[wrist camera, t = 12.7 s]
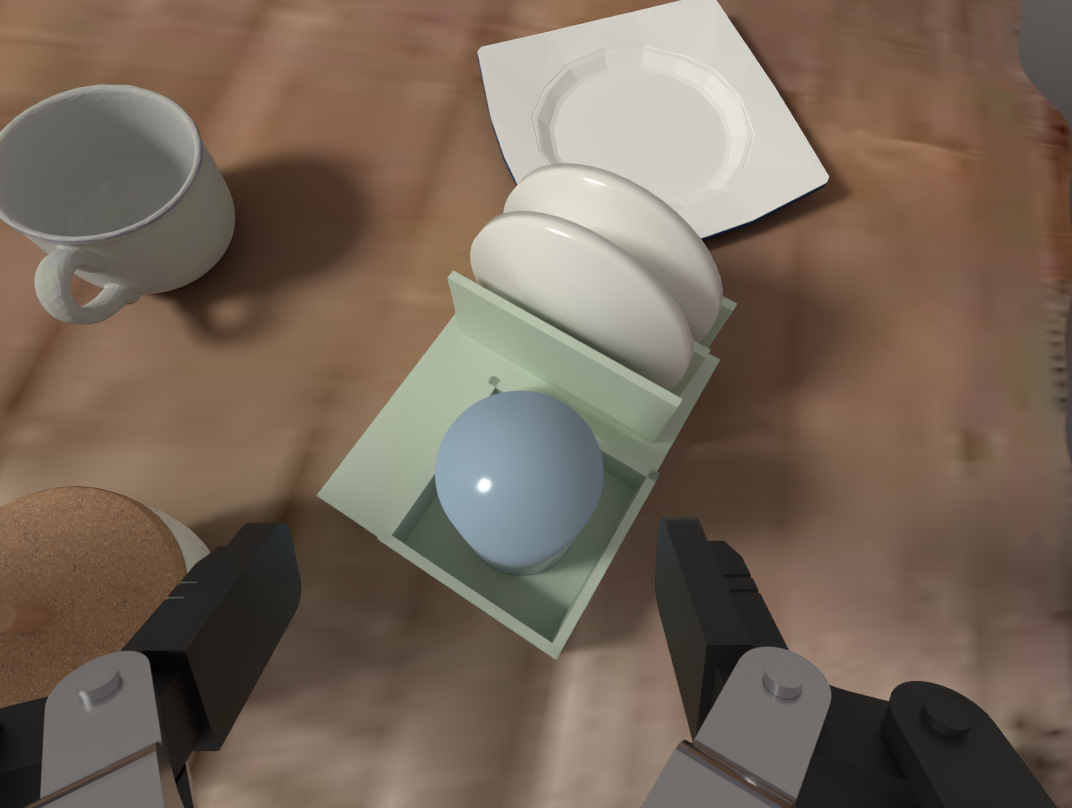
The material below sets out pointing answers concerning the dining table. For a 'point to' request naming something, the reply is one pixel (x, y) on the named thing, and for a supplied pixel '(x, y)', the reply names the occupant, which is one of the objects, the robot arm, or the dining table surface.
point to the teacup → (113, 197)
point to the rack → (487, 369)
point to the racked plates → (603, 267)
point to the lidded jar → (80, 581)
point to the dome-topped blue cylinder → (519, 479)
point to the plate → (654, 112)
